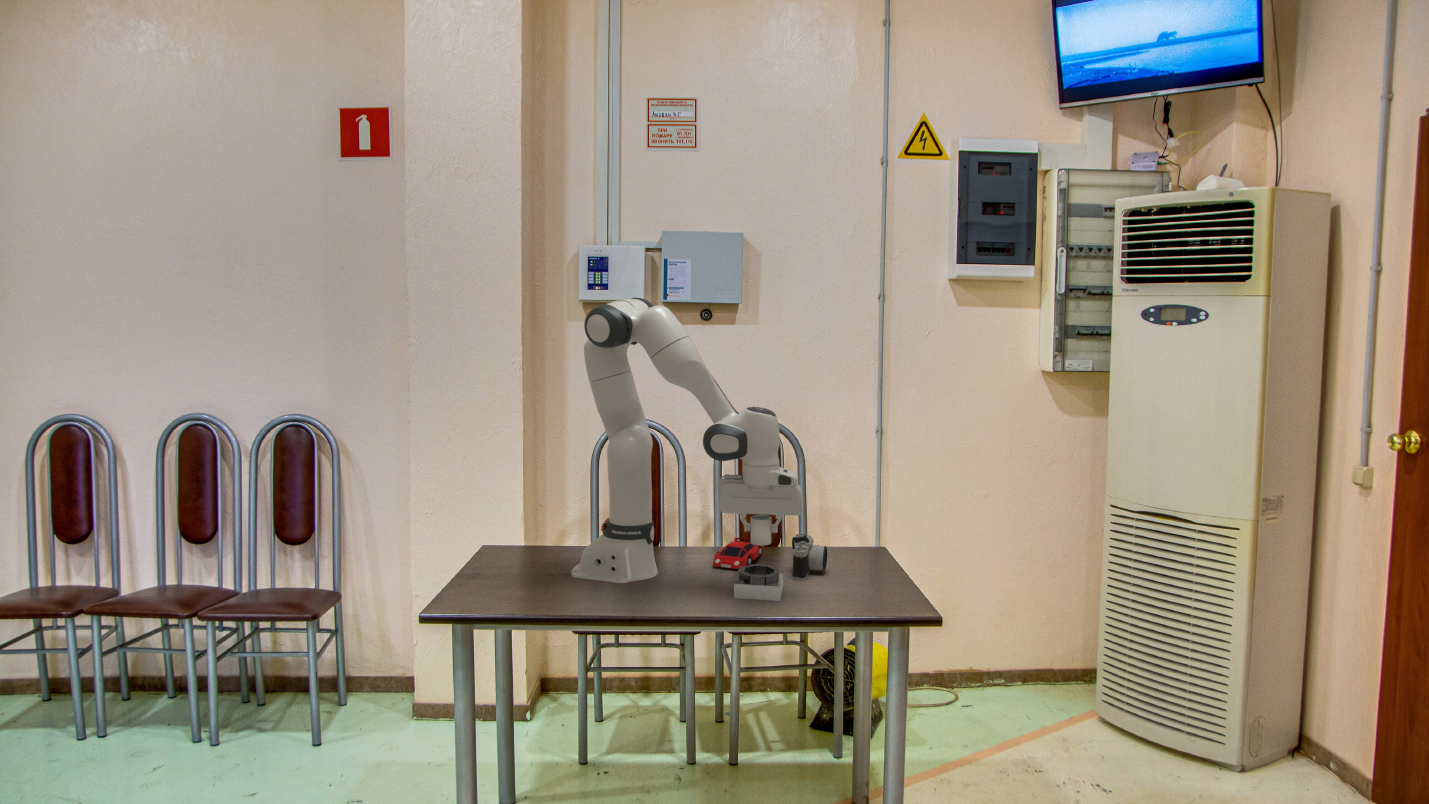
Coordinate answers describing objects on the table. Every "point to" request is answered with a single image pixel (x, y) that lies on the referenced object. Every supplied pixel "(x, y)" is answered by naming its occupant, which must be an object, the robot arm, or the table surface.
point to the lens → (760, 529)
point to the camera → (807, 556)
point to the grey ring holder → (758, 583)
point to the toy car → (737, 554)
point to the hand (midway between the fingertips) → (760, 531)
